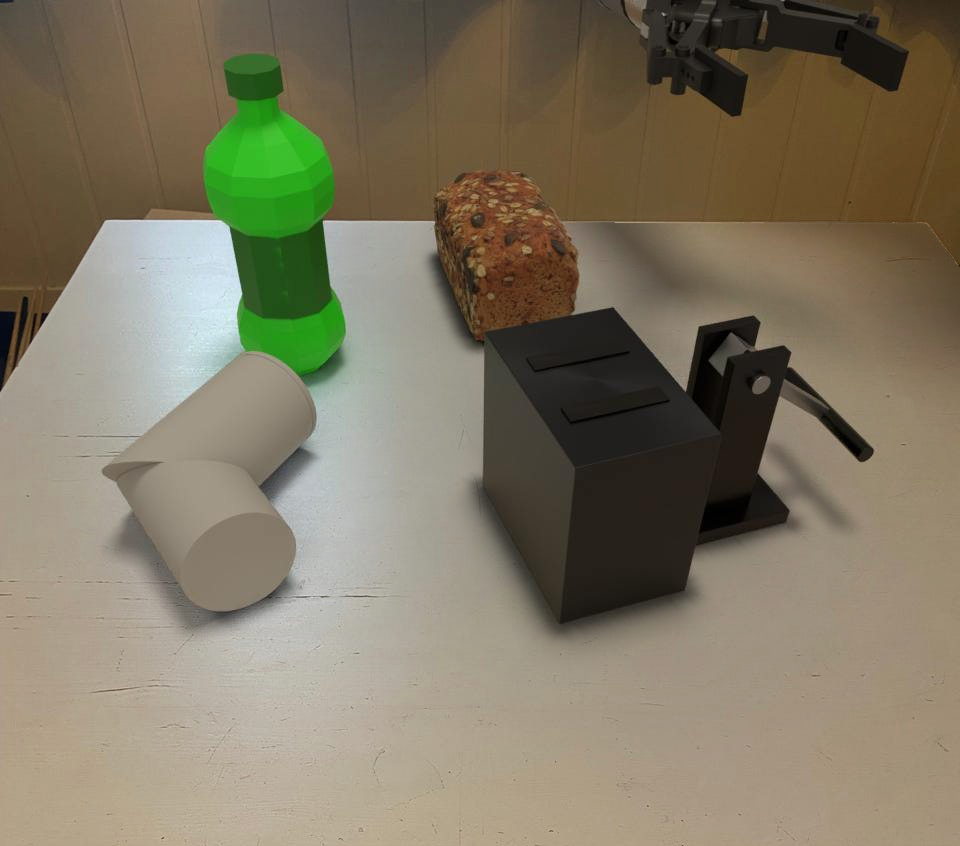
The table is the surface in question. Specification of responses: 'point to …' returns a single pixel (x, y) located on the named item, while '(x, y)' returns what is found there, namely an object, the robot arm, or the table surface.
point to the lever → (800, 398)
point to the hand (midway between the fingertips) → (821, 83)
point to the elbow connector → (220, 481)
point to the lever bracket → (738, 427)
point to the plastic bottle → (275, 219)
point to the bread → (504, 251)
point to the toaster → (594, 461)
